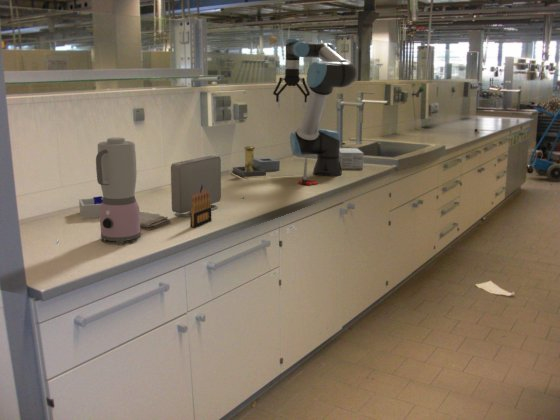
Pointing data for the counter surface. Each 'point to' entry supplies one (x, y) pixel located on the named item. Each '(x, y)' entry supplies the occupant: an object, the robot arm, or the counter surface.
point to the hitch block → (267, 164)
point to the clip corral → (89, 208)
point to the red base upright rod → (304, 181)
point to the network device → (195, 182)
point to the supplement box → (351, 158)
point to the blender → (118, 190)
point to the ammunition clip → (200, 209)
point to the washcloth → (152, 221)
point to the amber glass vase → (249, 158)
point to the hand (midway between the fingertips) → (291, 108)
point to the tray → (241, 171)
